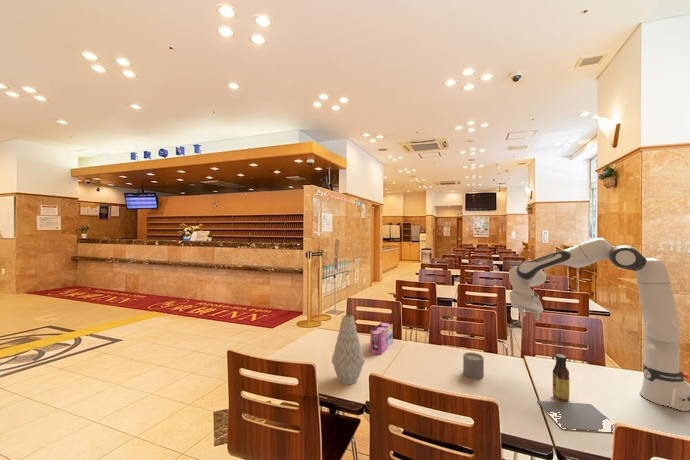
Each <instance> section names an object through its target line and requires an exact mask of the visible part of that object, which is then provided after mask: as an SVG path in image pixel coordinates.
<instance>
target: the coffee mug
mask: <svg viewBox="0 0 690 460" xmlns="http://www.w3.org/2000/svg"><path fill="white" fill-rule="evenodd" d="M462 357H463V359H462V360H463V362H462V363H463V366H462V367H463V369H462V371H463V372H462V373H463V376H465V377H466V378H468V379H471V380H482V379H484V377H485V375H484V374H485V371H484V370H485V369H484V368H485V367H484V363H485V361H484V360H485V358H484V355H482V354H479V353H476V352H470V351H469V352H465V353H463V355H462Z"/></svg>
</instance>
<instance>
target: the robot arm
mask: <svg viewBox="0 0 690 460" xmlns="http://www.w3.org/2000/svg"><path fill="white" fill-rule="evenodd" d="M604 260H605V261H610V262H611V264H613V265H614V267H617V268H618V269H621V270H623V269H624V270H627V271H631V272H633V273H634V274H635V279H636V283H637V290H638V295H639V301H640V307H641V313H642V314H641V315H642V320H643V327H644V363H643V365H642V368H643V369H642V373H643V381H642V385H641V388H640V391H639V395H640V394H641V395H642V396H643V397H642V396H641V395H640V396H641V397H642V398H644V399H646V400H647V399H648V400H647V401H649V400H650V402H652V403H654V404H657V405H660V406H663V405H664V407H667V406H669V407H668V408H670V407H672V408H671V409H673V408H675V409H674V410H676V409H678V410H677V411H679V410H681V411H680V412H690V411H689V410H690V383H689V382H688V381H686V380H685V379H689V380H690V373H687V372H682V371H680V334H681V327H680V321H679V316H678V312H677V307H676V303H675V298H674V296H675V295H674V291H673V286H672V282H671V281H672V280H671V277H670V274H669V272H668V268H667V267H666V264H665V262H664V261H663V260H661V259H658V258H653V257H644V256H643V254H642V253H641V252H640V251H639V250H638V249H636V248H635V247H633V246H631V245H625V244H623V245H619V244H617V245H615V244H613V245H612V244H611V242H610V241H608V240H607V239H606V238H603V237H597V238H593V239H590V240H586V241H584V242H581V243H579V244H576V245H574V246H572V247H569V248H565V249H563V250H558V251H555V252H552V253H549V254H546V255H544V256H541V257H538V258H535V259H531V260H523V261H521V262H520V263H519V264H518V265H516V266H513V267H511V268H510V269H509V271H508V277H509V282H510V285H511V286H512V290H510V291H509V301H510V305H511V306H512V307H513V308H515V309H517V310H518V312H519V313H520V314H521V317H524V318H525V317H527V313H526V312H529V313H533V314H534V316H533V319H534V320H535V321H538V320H540V314H541V313H544V307H543V305H542V302H541V300H540V296H539V294H538V293H536V292H535V291H534V290H532V289H531V287H537V286H542V285H543V284H544V283H546V281H547V274H546V272H545V271H543V270H545V269H548V268H551V267H554V266H562V265H563V266H567V267H571V268H573V269H574V268H575V269H580V268H584V267H587V266H590V265H593V264H595V263H597V262H600V261H604ZM525 311H526V312H525ZM684 378H685V379H684Z"/></svg>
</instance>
